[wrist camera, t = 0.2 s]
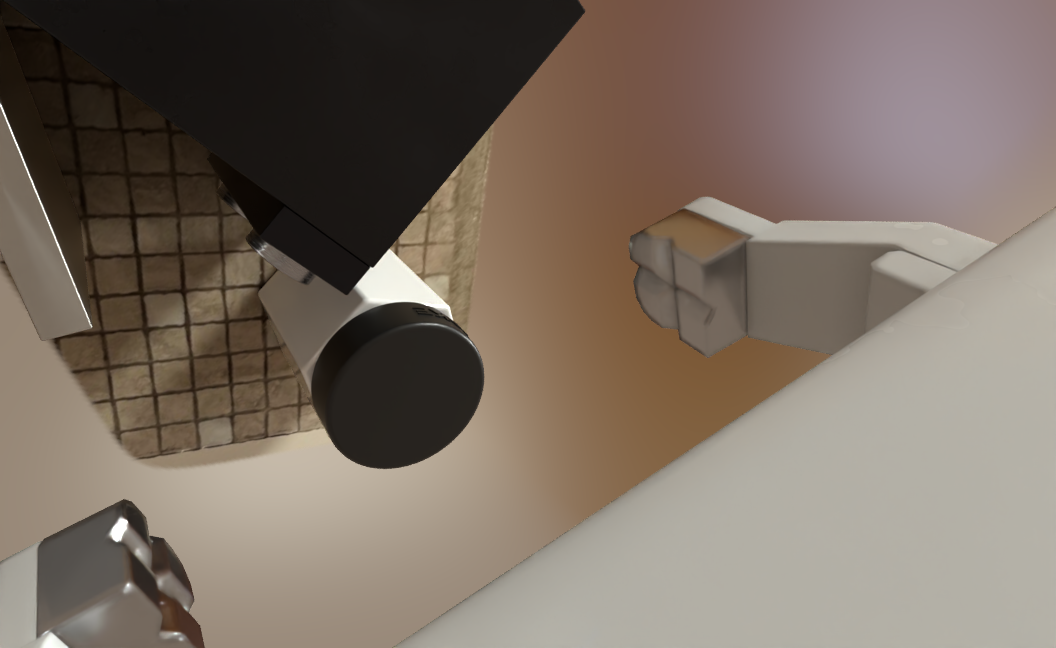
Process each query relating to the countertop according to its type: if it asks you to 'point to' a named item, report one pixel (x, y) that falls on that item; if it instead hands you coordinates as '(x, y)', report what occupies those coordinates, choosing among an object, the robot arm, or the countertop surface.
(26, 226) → the oven door
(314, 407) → the jar
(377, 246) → the oven
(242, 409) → the countertop surface
